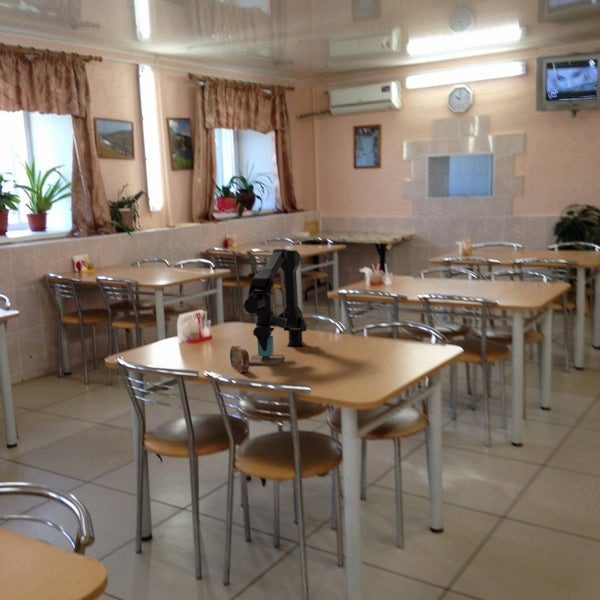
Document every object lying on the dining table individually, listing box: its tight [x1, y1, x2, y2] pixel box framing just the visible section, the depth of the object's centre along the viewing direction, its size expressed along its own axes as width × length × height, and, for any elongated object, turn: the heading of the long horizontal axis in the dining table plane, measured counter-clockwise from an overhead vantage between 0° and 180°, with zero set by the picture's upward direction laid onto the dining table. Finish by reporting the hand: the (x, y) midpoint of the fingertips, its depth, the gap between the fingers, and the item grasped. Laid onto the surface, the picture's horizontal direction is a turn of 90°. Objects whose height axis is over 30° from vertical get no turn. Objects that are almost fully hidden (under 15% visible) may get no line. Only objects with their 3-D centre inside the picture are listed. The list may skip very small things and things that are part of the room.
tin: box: [229, 345, 250, 374], centre depth 254 cm, size 15×3×8 cm, turn 23°
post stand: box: [249, 354, 285, 366], centre depth 265 cm, size 12×12×8 cm
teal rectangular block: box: [257, 335, 274, 356], centre depth 265 cm, size 5×5×7 cm
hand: (265, 349), depth 265 cm, fingers closed on teal rectangular block, 5 cm apart
